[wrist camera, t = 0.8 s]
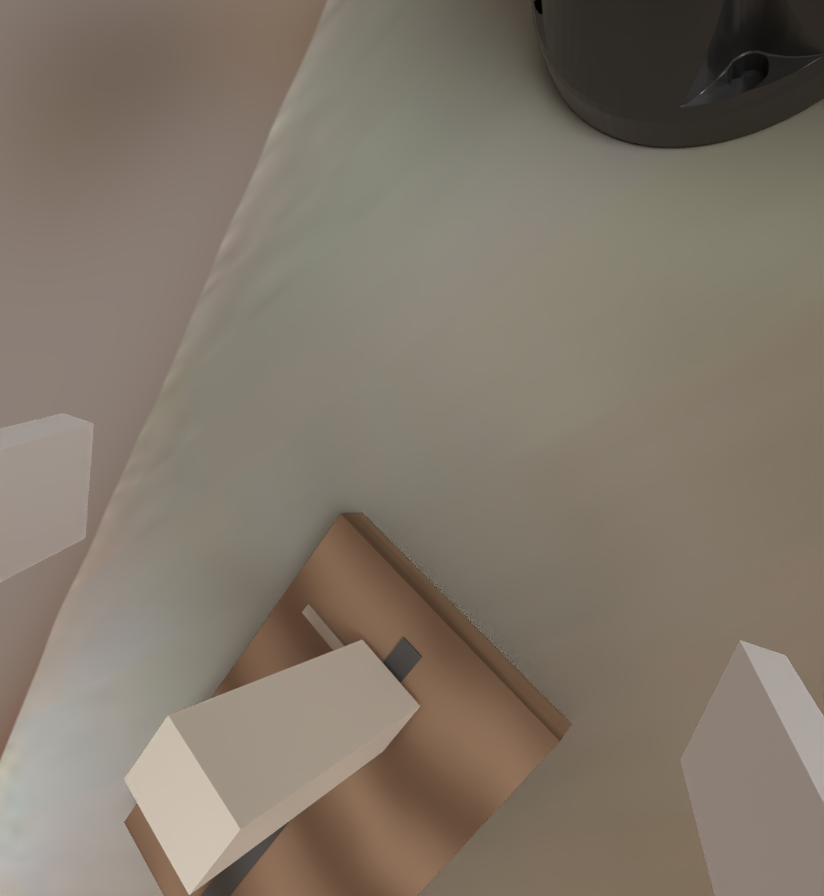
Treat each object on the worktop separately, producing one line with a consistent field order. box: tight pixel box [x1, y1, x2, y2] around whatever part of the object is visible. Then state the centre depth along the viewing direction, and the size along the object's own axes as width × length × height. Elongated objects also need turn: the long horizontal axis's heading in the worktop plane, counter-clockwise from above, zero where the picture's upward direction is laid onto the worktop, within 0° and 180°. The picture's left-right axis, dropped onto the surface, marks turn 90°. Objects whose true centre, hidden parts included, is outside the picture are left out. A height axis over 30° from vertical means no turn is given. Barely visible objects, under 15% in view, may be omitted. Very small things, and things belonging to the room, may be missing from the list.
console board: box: [124, 513, 571, 896], centre depth 30 cm, size 24×14×2 cm, turn 140°
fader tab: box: [124, 640, 420, 895], centre depth 22 cm, size 3×4×11 cm
